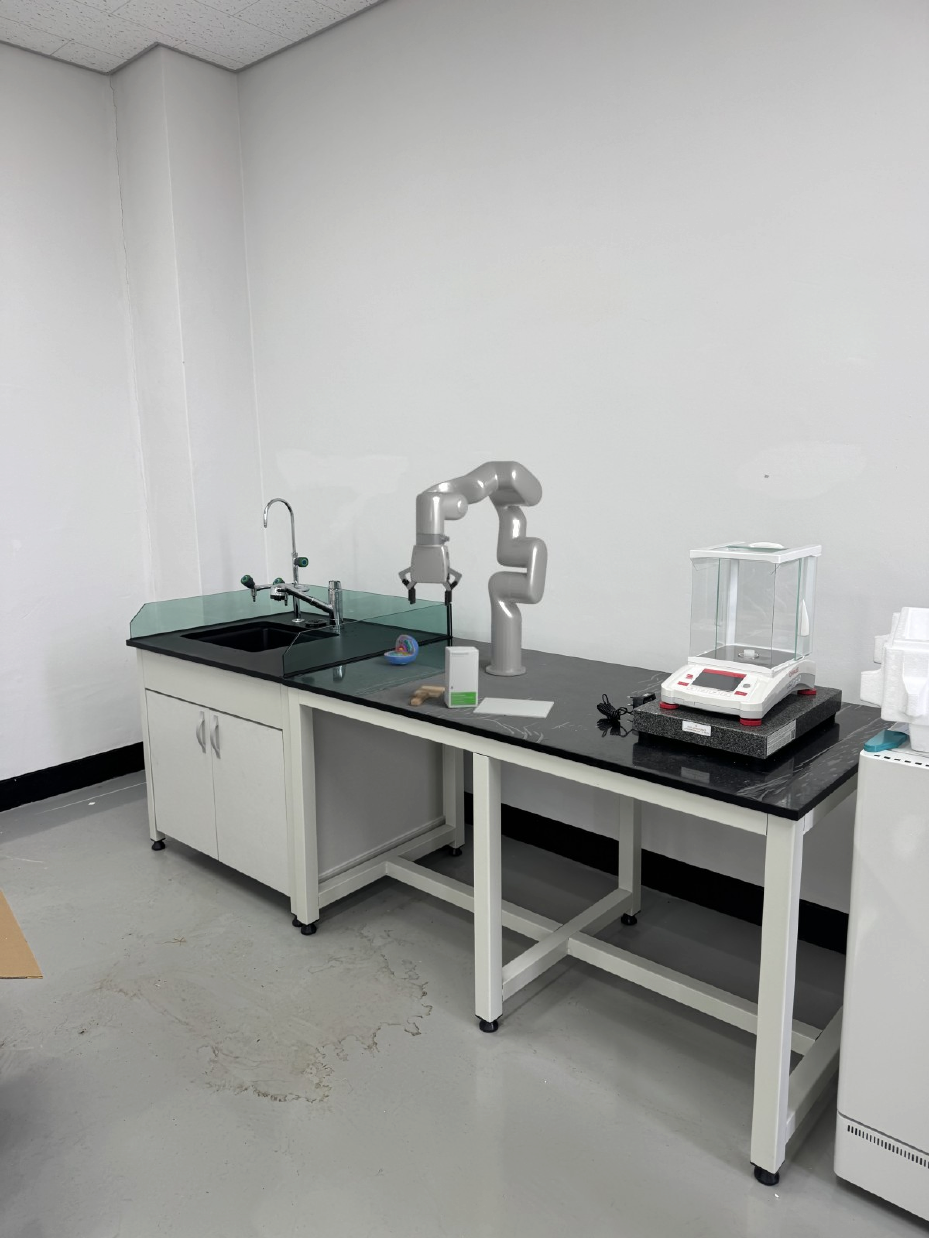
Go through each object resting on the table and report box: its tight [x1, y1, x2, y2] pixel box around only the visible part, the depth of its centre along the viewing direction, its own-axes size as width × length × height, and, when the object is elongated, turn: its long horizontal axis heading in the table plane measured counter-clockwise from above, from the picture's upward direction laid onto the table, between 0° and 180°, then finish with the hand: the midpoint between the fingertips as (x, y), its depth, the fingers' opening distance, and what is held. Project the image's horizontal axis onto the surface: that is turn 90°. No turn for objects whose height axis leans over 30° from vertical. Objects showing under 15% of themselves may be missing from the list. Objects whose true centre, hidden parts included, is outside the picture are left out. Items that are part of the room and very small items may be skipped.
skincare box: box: [444, 646, 480, 709], centre depth 233 cm, size 8×7×16 cm
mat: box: [472, 697, 555, 719], centre depth 231 cm, size 15×19×1 cm
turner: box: [410, 685, 445, 706], centre depth 243 cm, size 20×7×1 cm, turn 166°
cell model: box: [383, 634, 420, 665], centre depth 282 cm, size 10×12×10 cm
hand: (429, 604), depth 232 cm, fingers open, 9 cm apart
